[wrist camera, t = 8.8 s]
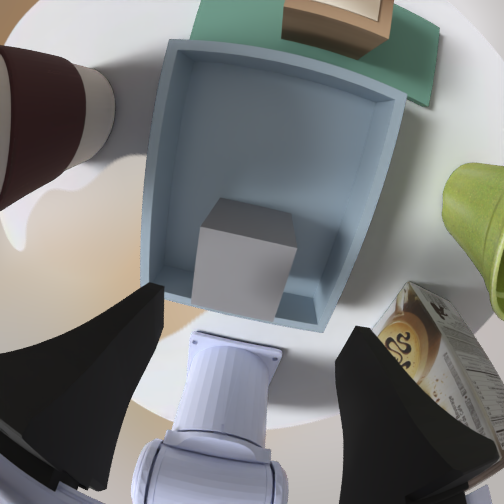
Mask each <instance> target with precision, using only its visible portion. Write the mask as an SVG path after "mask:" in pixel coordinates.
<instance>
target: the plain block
mask: <svg viewBox="0 0 504 504" xmlns="http://www.w3.org/2000/svg"><path fill="white" fill-rule="evenodd" d="M296 251H297V243H296V237H295V231H294V226H293V220H292V214H291V213H287V212H283V211H279V210H275V209H270V208H266V207H262V206H257V205H253V204H248V203H244V202H239V201H235V200H230V199H225V198H219V200H218V201H217V203H216V204H215V206H214V207H213V209H212V210H211V212H210V213H209V214H208V216H207V217H206V219H205V220H204V222H203V223H202V225H201V226H200V233H199V240H198V247H197V255H196V263H195V271H194V279H193V288H192V297H191V304H194V305H198V306H202V307H206V308H210V309H214V310H219V311H223V312H227V313H232V314H236V315H241V316H246V317H251V318H255V319H260V320H265V321H270V322H273V321H274V318H275V315H276V312H277V309H278V306H279V303H280V300H281V297H282V294H283V291H284V288H285V285H286V282H287V279H288V276H289V273H290V270H291V267H292V264H293V260H294V257H295V254H296Z"/></svg>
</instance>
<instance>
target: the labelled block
mask: <svg viewBox="0 0 504 504" xmlns="http://www.w3.org/2000/svg"><path fill="white" fill-rule="evenodd" d="M393 5H394V0H285V3H284V7H283V20H282V32H281V39H283V40H288V41H293V42H297V43H301V44H305V45H309V46H313V47H317V48H320V49H324V50H327V51H330V52H334V53H337V54H340V55H343V56H346V57H349V58H352V59H355V60H358V59H359V58H361V57H362V56H364V55H365V54H367V53H368V52H370V51H371V50H373V49H374V48H376V47H377V46H379V45H380V44H382V43H383V42H385V41H387V40H388V39H389V34H390V28H391V21H392V13H393Z"/></svg>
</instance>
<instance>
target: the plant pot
mask: <svg viewBox="0 0 504 504" xmlns="http://www.w3.org/2000/svg"><path fill="white" fill-rule="evenodd" d="M442 218H443V222H444V224H445V227H446V229H447V230H448V231H449V233H450V234H451V235H452V236H453V238H454V239H455V240H456V241H457V242H458V244H459V245H460V246H461V247H462V249H463V250H464V251H465V252H466V254H467V255H468V256H469V258H470V259H471V261H472V262H473V263H474V265H475V266H476V268H477V269H478V271H479V272H480V274H481V275H482V277H483V278H484V281H485V285H486V288H487V290H488V292H489V295H490V302H491V306H492V308H493V310H494V312H495V314H496V315H497V316H498V317H499V318H500V319H501V320H503V321H504V166H497V165H489V164H482V163H467V164H464V165H462V166H460V167H459V168H457V169H456V170H455V171H454V172H453V173H452V175H451V176H450V177H449V179H448V181H447V183H446V185H445V188H444V191H443V210H442Z"/></svg>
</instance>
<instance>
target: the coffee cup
mask: <svg viewBox="0 0 504 504" xmlns="http://www.w3.org/2000/svg"><path fill="white" fill-rule="evenodd" d="M114 117H115V98H114V94H113V90H112V87H111V85H110V84H109V82H108V80H107V79H106V78H105V77H104V76H103V75H102V74H101V73H99V72H98V71H96V70H94V69H91V68H87V67H84V66H80V65H76V64H72V63H71V62H69V61H68V60H66V59H64V58H62V57H59V56H54V55H50V54H46V53H41V52H37V51H32V50H27V49H21V48H15V47H9V46H2V45H0V211H2V210H3V209H5V208H6V207H8V206H9V205H11V204H13V203H14V202H16V201H17V200H19V199H21V198H22V197H24V196H26V195H27V194H29V193H31V192H33V191H34V190H36V189H38V188H40V187H41V186H43V185H45V184H47V183H49V182H51V181H53V180H54V179H56V178H57V177H58V176H60V175H61V174H62V173H63V172H64V171H65V170H68V169H70V168H72V167H74V166H76V165H78V164H81V163H83V162H85V161H87V160H89V159H90V158H92V157H93V156H94V155H95V154H96V153H97V152H98V151H99V150H100V149H101V148H102V146H103V145H104V143H105V142H106V140H107V138H108V136H109V134H110V132H111V129H112V126H113V122H114Z"/></svg>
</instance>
